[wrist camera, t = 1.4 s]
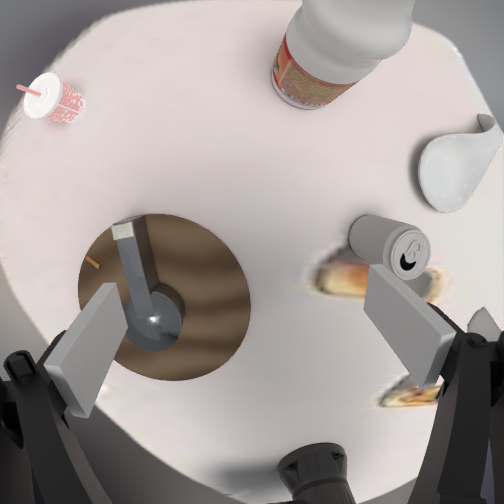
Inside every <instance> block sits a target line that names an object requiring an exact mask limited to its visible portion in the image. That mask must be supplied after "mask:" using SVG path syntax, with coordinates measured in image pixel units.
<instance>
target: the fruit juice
mask: <svg viewBox="0 0 504 504" xmlns="http://www.w3.org/2000/svg"><path fill="white" fill-rule="evenodd" d="M415 1H416V0H302V6H301V7H300V8H299V9H298V10H297V12H296V13H295V14H294V16H293V18H292V20H291V21H290V23H289V26H288V28H287V31H286V34H285V36H284V39H283V41H282V44H281V46H280V49H279V51H278V54H277V56H276V59H275V61H274V64H273V67H272V83H273V86H274V88H275V90H276V91H277V93H278V94H279V96H280V97H281V98H282V99H283V100H285V101H286V102H287V103H289V104H291V105H293V106H295V107H298V108H302V109H317V108H320V107H323V106H325V105H327V104H329V103H330V102H331V101H333V100H334V99H336V98H337V97H338V96H340V95H341V94H342V93H344V92H345V91H346V90H348V89H349V88H350V87H352V86H353V85H354V84H356V83H357V82H359V81H360V80H362V79H363V78H365V77H366V76H367V75H369V74H370V73H371V72H372V71H373V70H374V69H375V68H376V67H377V66H378V64H379V63H380V61H381V60H384V59H387V58H389V57H391V56H393V55H395V54H396V53H397V52H399V51H400V50H401V49H402V48H403V47H404V46H405V44H406V43H407V41H408V40H409V37H410V34H411V29H412V20H411V13H412V8H413V6H414V4H415Z"/></svg>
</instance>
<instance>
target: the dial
mask: <svg viewBox="0 0 504 504" xmlns="http://www.w3.org/2000/svg"><path fill="white" fill-rule="evenodd" d="M111 229H112V233H113V238H114V240H116V241H117V245H118V250H119V254H120V258H121V262H122V266H123V270H124V274H125V277H126V281H127V285H128V288H129V292H130V295H131V297H130V298H129V299H128V300H127V302H126V303H125V304H124V306H123V311H124V315H125V318H126V322H127V325H128V329H127V331H126V333H125V336H126V337H127V338H128V339H129V340H130V341H131V342H132V343H133V344H134V345H136V346H137V347H139V348H141V349H144V350H147V351H163V350H166V349H168V348H170V347H171V346H172V345H173V344H174V343H175V342H176V341H177V339H178V337H179V334H180V331H181V328H182V324H183V321H184V318H185V304H184V301H183V299H182V298H181V296H180V295H179V293H178V292H177V291H176V290H175V289H173V288H172V287H171V286H169V285H167V284H164V283H161V282H159V280H158V276H157V272H156V267H155V263H154V259H153V255H152V250H151V246H150V241H149V237H148V232H147V227H146V222H145V217H144V215H142V216H137V217H132V218H128V219H125V220H122V221H119V222H117V223H114V224H113V226H111Z"/></svg>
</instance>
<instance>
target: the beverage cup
mask: <svg viewBox="0 0 504 504" xmlns="http://www.w3.org/2000/svg"><path fill="white" fill-rule="evenodd" d="M16 88H17V89H20V90H23V91H26V95H25V99H24V111H25V113H26V114H27V116H28V117H30V118H32V119H37V120H39V119H48V120H54V121H59V122H65V123H74V122H76V121H78V120H79V119H80V118H81V117H82V116H83V114H84V112H85V110H86V99H85V98H84V97H83V96H82V95H81V94H80V93H78V92H77V91H76V90H74V89H73V88H71V87H70V86H68V85H67V84H66V83H64V82H63V81H62V80H61V79H60V78H59V76H57V75H56V74H54V73H49V72H48V73H45V74H42V75H40V76H39V77H38V78H36V79H35V80H34V81H33V83H32V84H31V85H30V86H29V88H27V87H24V86H22V85H17V86H16Z"/></svg>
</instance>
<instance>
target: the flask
mask: <svg viewBox="0 0 504 504" xmlns="http://www.w3.org/2000/svg"><path fill="white" fill-rule="evenodd" d="M469 332H473V333H477V334H480V335H482V336H483V337H485V339H486V340H487V341H488V342H490V341H498V338H499V336H500V333H501V332H502V331H501V330H500V329H499V327H498V326H497V324H496V323H495V321H494V320H493V318H492V317H491V315H490V314H489V312H488V311H487V310H486V309H485V307H484V308H482V309H481V310H479V311H478V312H477V313H475V315H474V317H473V318H472V320H471V321H470V323H469V324H468V333H469Z"/></svg>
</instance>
